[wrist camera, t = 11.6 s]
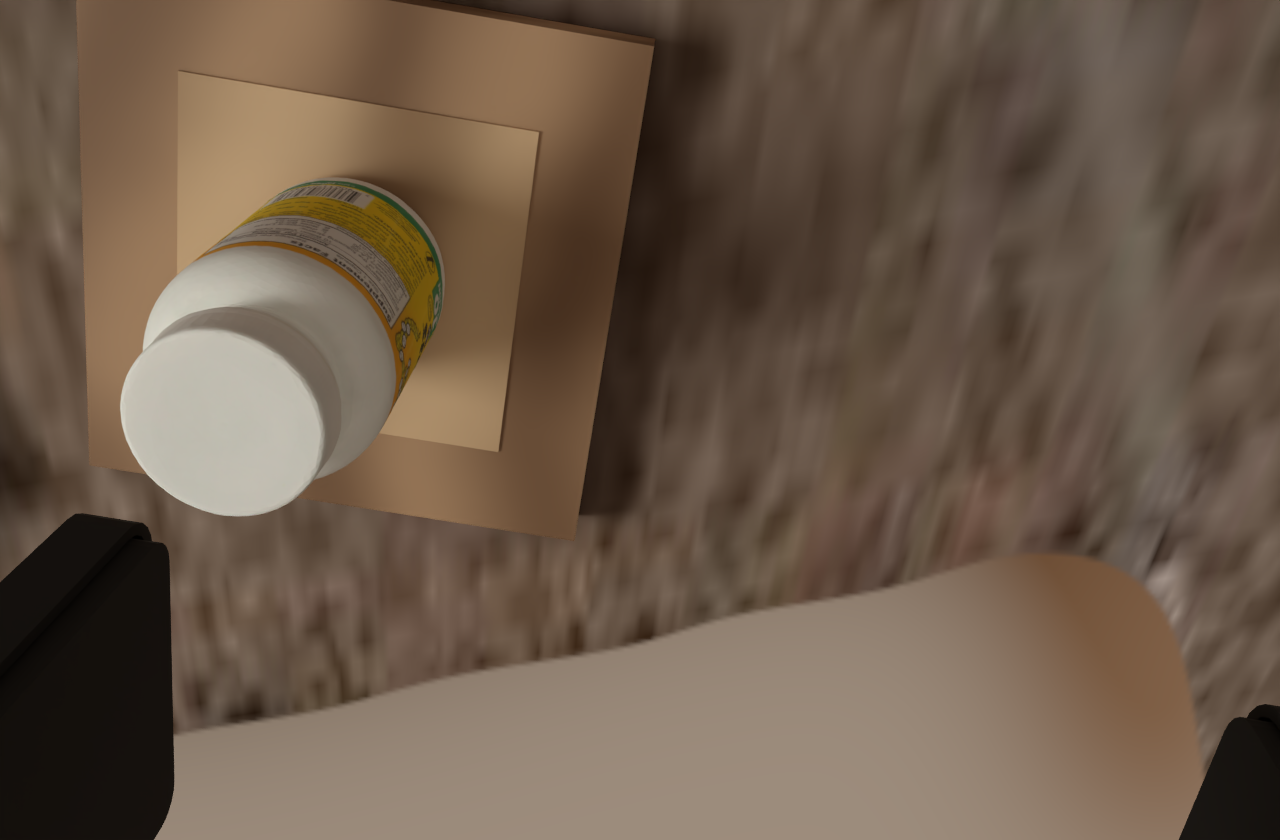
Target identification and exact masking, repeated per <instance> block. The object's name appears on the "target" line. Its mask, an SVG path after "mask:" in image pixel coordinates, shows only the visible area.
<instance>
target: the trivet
mask: <svg viewBox="0 0 1280 840" xmlns="http://www.w3.org/2000/svg"><path fill="white" fill-rule="evenodd" d="M76 12H77V47H78V82H79V118H80V153H81V188H82V223H83V258H84V293H85V328H86V363H87V398H88V433H89V465H91V466H98V467H104V468H111V469H117V470H123V471H130V472H136V473H143V474H147V473H146V472H145V471H144V469H143V468H142V467H141V466H140V464H139V463H138V461H137V459H136V458H135V456H134V455H133V453H132V451H131V449H130V447H129V445H128V443H127V440H126V437H125V434H124V431H123V427H122V422H121V412H120V402H121V394H122V389H123V385H124V382H125V379H126V376H127V374H128V372H129V370H130V368H131V367H132V365H133V363H134V362H135V360H136V359H137V358H138V357H139V355H140V354H141V353H142V352H143V341H144V334H145V330H146V326H147V322H148V319H149V316H150V313H151V311H152V309H153V307H154V305H155V303H156V301H157V299H158V298H159V296H160V295H161V293H162V292H163V290H164V289H165V288H166V287H167V285H168V284H169V283H170V282H171V281H172V280H173V279H174V278H175V277H176V276H177V275H178V274H179V273H180V272H181V271H183V270H184V269H185V268H186V267H187V266H188V265H190V264H191V263H192V262H193V261H194V260H196V259H197V258H198V257H199V256H201V255H202V254H203V253H204V252H206V251H207V250H208V249H210V248H211V247H212V246H214V245H215V244H216V243H217V242H218V241H220V240H221V239H222V238H223V237H225V236H226V235H228V234H229V233H230V232H231V231H233V230H234V229H235V228H236V227H237V226H239V225H240V224H241V223H242V222H243V221H245V220H246V219H247V218H248V217H249V216H251V215H252V214H253V213H254V212H256V211H257V210H258V209H260V208H261V207H262V206H263V205H264V204H265V203H266V202H267V201H269V200H270V199H272V198H273V197H275V196H276V195H277V194H279V193H281V192H282V191H284V190H286V189H287V188H290V187H292V186H294V185H296V184H299V183H302V182H305V181H309V180H313V179H319V178H327V177H339V178H350V179H355V180H359V181H363V182H367V183H370V184H372V185H375V186H377V187H380V188H382V189H384V190H386V191H388V192H390V193H392V194H393V195H395V196H396V197H398V198H399V199H401V200H402V201H403V202H404V203H406V204H407V205H408V206H409V207H410V208H411V209H412V210H413V211H414V212H415V213H416V214H417V215H418V216H419V217H420V218H421V219H422V220H423V222H424V223H425V224H426V226H427V227H428V228H429V230H430V232H431V233H432V235H433V236H434V238H435V240H436V242H437V244H438V247H439V250H440V253H441V256H442V261H443V265H444V273H445V290H444V300H443V307H442V312H441V315H440V319H439V321H438V323H437V326H436V328H435V331H434V333H433V335H432V337H431V339H430V340H429V342H428V344H427V346H426V348H425V350H424V351H423V353H422V355H421V357H420V359H419V361H418V363H417V365H416V367H415V369H414V370H413V372H412V374H411V375H410V377H409V379H408V381H407V383H406V385H405V387H404V389H403V390H402V392H401V394H400V396H399V398H398V400H397V401H396V403H395V405H394V407H393V409H392V411H391V413H390V415H389V417H388V419H387V420H386V422H385V424H384V426H383V427H382V429H381V431H380V432H379V434H378V435H377V437H376V438H375V439H374V441H373V442H372V443H371V444H370V446H369V447H368V448H367V449H366V450H365V451H364V452H363V453H362V454H361V455H360V456H359V457H357V458H356V459H355V460H354V461H352V462H351V463H349V464H348V465H347V466H345V467H343V468H341V469H340V470H338V471H336V472H334V473H332V474H330V475H327V476H325V477H322V478H318V479H315V480H313V482H312V483H311V484H310V485H309V486H308V487H307V488H306V489H305V491H304V492H303V493H302V494H300V495H299V496H298V497H297V498H302V499H309V500H315V501H322V502H328V503H334V504H341V505H347V506H354V507H360V508H366V509H373V510H379V511H386V512H392V513H398V514H405V515H411V516H418V517H424V518H430V519H437V520H443V521H450V522H456V523H462V524H469V525H475V526H481V527H488V528H494V529H501V530H507V531H513V532H520V533H526V534H533V535H539V536H545V537H552V538H558V539H565V540H571V541H574V540H575V534H576V527H577V521H578V515H579V509H580V503H581V496H582V490H583V484H584V478H585V472H586V465H587V459H588V453H589V447H590V441H591V435H592V428H593V422H594V416H595V410H596V404H597V397H598V391H599V385H600V379H601V373H602V367H603V360H604V354H605V348H606V342H607V336H608V329H609V323H610V317H611V311H612V305H613V298H614V292H615V286H616V280H617V274H618V268H619V261H620V255H621V249H622V243H623V237H624V230H625V224H626V218H627V212H628V206H629V200H630V193H631V187H632V181H633V175H634V169H635V162H636V156H637V150H638V144H639V138H640V131H641V125H642V119H643V113H644V107H645V101H646V94H647V88H648V82H649V76H650V70H651V63H652V57H653V51H654V45H655V39H653V38H647V37H642V36H636V35H630V34H624V33H619V32H613V31H607V30H601V29H596V28H590V27H584V26H578V25H573V24H567V23H561V22H555V21H549V20H544V19H538V18H532V17H526V16H521V15H515V14H509V13H503V12H498V11H492V10H486V9H480V8H475V7H469V6H463V5H457V4H452V3H446V2H440V1H434V0H76Z"/></svg>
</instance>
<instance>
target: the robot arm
mask: <svg viewBox="0 0 1280 840" xmlns="http://www.w3.org/2000/svg"><path fill="white" fill-rule="evenodd" d="M173 791H174V746H173V700H172V655H171V610H170V565H169V553H168V550H167V547H166V546H165V545H164V544H163V543H159V542H153V541H152V539H151V534H150V532H149V529H148V527H147V526H146V525H144V524H143V523H139V522H133V521H127V520H120V519H114V518H108V517H102V516H96V515H89V514H83V513H82V514H75V515H73V516H72V517H70V518H69V519H67V520H66V521H65V522H64V523H63V524H62V525H61V526H60V527H59V528H58V529H57V530H56V531H54V532H53V533H52V534H51V535H50V536H49V537H48V538H47V539H46V540H45V541H44V542H43V543H42V544H41V545H40V546H38V547H37V548H36V549H35V550H34V551H33V552H32V553H31V554H30V555H29V556H28V557H27V558H26V559H25V560H24V561H22V562H21V563H20V564H19V565H18V566H17V567H16V568H15V569H14V570H13V571H12V572H11V573H10V574H9V575H8V576H6V577H5V578H4V579H3V580H2V581H1V582H0V840H154V839H155V837H156V835H157V834H158V832H159V830H160V829H161V827H162V825H163V823H164V821H165V819H166V816H167V814H168V811H169V808H170V805H171V801H172V796H173ZM1179 840H1280V706H1274V705H1267V704H1264V705H1260V706H1257V707H1256V708H1255V709H1253V710H1252V711H1251V712H1250V713H1249V715H1248V717H1247V718H1243V717H1238V718H1234V719H1233V720H1232V721H1231V722H1230V723H1229V724H1228V726H1227V728H1226V730H1225V731H1224V734H1223V736H1222V738H1221V741H1220V743H1219V746H1218V748H1217V750H1216V753H1215V755H1214V757H1213V760H1212V762H1211V764H1210V767H1209V769H1208V772H1207V774H1206V776H1205V779H1204V781H1203V783H1202V786H1201V788H1200V791H1199V793H1198V795H1197V798H1196V800H1195V802H1194V805H1193V808H1192V810H1191V812H1190V814H1189V817H1188V819H1187V821H1186V824H1185V826H1184V829H1183V831H1182V833H1181V836H1180V838H1179Z"/></svg>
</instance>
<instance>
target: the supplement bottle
mask: <svg viewBox="0 0 1280 840" xmlns="http://www.w3.org/2000/svg"><path fill="white" fill-rule="evenodd" d="M444 290H445V273H444V265H443V261H442V256H441V253H440V250H439V247H438V244H437V242H436V240H435V238H434V236H433V235H432V233H431V232H430V230H429V228H428V227H427V226H426V224H425V223H424V222H423V220H422V219H421V218H420V217H419V216H418V215H417V214H416V213H415V212H414V211H413V210H412V209H411V208H410V207H409V206H408V205H407V204H406V203H404V202H403V201H402V200H401V199H399V198H398V197H396V196H395V195H393V194H392V193H390V192H388V191H386V190H384V189H382V188H380V187H377V186H375V185H372V184H370V183H367V182H363V181H359V180H355V179H350V178H339V177H327V178H319V179H313V180H309V181H305V182H302V183H299V184H296V185H294V186H292V187H290V188H287V189H286V190H284V191H282V192H281V193H279V194H277V195H276V196H275V197H273V198H272V199H270V200H269V201H267V202H266V203H265V204H264V205H263V206H262V207H261V208H260V209H258V210H257V211H256V212H254V213H253V214H252V215H251V216H249V217H248V218H247V219H246V220H245V221H243V222H242V223H241V224H240V225H239V226H237V227H236V228H235V229H234V230H233V231H231V232H230V233H229V234H228V235H226V236H225V237H223V238H222V239H221V240H220V241H218V242H217V243H216V244H215V245H214V246H212V247H211V248H210V249H208V250H207V251H206V252H204V253H203V254H202V255H201V256H199V257H198V258H197V259H196V260H194V261H193V262H192V263H191V264H190V265H188V266H187V267H186V268H185V269H184V270H183V271H181V272H180V273H179V274H178V275H177V276H176V277H175V278H174V279H173V280H172V281H171V282H170V283H169V284H168V285H167V287H166V288H165V289H164V290H163V292H162V293H161V295H160V296H159V298H158V299H157V301H156V303H155V305H154V307H153V309H152V311H151V313H150V316H149V319H148V322H147V326H146V330H145V334H144V341H143V352H142V353H141V354H140V355H139V357H138V358H137V359H136V360H135V362H134V363H133V365H132V367H131V368H130V370H129V372H128V374H127V376H126V379H125V382H124V385H123V389H122V394H121V402H120V412H121V422H122V427H123V431H124V434H125V437H126V440H127V443H128V445H129V447H130V449H131V451H132V453H133V455H134V456H135V458H136V459H137V461H138V463H139V464H140V466H141V467H142V468H143V469H144V471H145V472H146V473H147V475H148V476H149V477H150V478H151V479H152V480H153V481H155V482H156V483H157V484H158V485H159V486H160V487H161V488H163V489H164V490H165V491H167V492H168V493H169V494H171V495H172V496H174V497H175V498H177V499H179V500H180V501H182V502H184V503H186V504H188V505H191V506H193V507H195V508H198V509H201V510H203V511H206V512H210V513H214V514H218V515H225V516H251V515H259V514H263V513H267V512H270V511H273V510H275V509H278V508H280V507H282V506H284V505H286V504H288V503H290V502H291V501H293V500H294V499H295V498H297V497H298V496H299V495H300V494H302V493H303V492H304V491H305V489H306V488H307V487H308V486H309V485H310V484H311V483H312V482H313V480H315V479H318V478H322V477H325V476H327V475H330V474H332V473H334V472H336V471H338V470H340V469H341V468H343V467H345V466H347V465H348V464H349V463H351V462H352V461H354V460H355V459H356V458H357V457H359V456H360V455H361V454H362V453H363V452H364V451H365V450H366V449H367V448H368V447H369V446H370V444H371V443H372V442H373V441H374V439H375V438H376V437H377V435H378V434H379V432H380V431H381V429H382V427H383V426H384V424H385V422H386V420H387V419H388V417H389V415H390V413H391V411H392V409H393V407H394V405H395V403H396V401H397V400H398V398H399V396H400V394H401V392H402V390H403V389H404V387H405V385H406V383H407V381H408V379H409V377H410V375H411V374H412V372H413V370H414V369H415V367H416V365H417V363H418V361H419V359H420V357H421V355H422V353H423V351H424V350H425V348H426V346H427V344H428V342H429V340H430V339H431V337H432V335H433V333H434V331H435V328H436V326H437V323H438V321H439V319H440V315H441V312H442V307H443V300H444Z"/></svg>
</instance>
